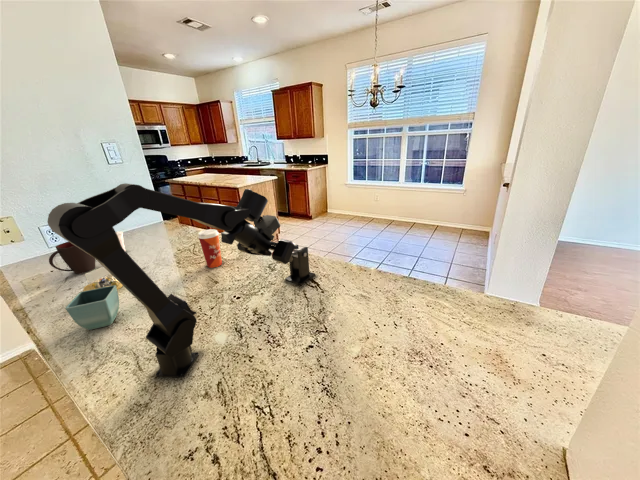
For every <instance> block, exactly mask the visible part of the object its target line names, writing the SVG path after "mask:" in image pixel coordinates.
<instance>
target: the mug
mask: <svg viewBox="0 0 640 480" xmlns="http://www.w3.org/2000/svg"><path fill="white" fill-rule="evenodd" d="M55 249H56V251H54V252H52V253H51V254H50V255H49V258H48V263H49V265H50V267H52V268H54V269H56V270H57V271H62V272H73V273H75V274H77V275H83V274H86V273H89V272H92V271H94V270H96V259H95V258H93V257H92V256H90V255H89V254H87V253H86V252H84V251H82V250H81V249H79V248H78V247H76V246H75V245H73V244H71V243H70V242H68V241H65V242H62V243H60V244H57V245H55ZM57 255H59V256H60V257H61V259H62V260H63V261H64V263H65V264H66V266H67V267H69V269H66V268H60V267H57V266H56V265H55V264H54V258H55V257H56V256H57Z"/></svg>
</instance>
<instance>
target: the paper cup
mask: <svg viewBox="0 0 640 480" xmlns="http://www.w3.org/2000/svg"><path fill="white" fill-rule="evenodd" d="M219 235H220V233H219V231H218V229H216V228H211V229H204V230H201V231H199V232H198V233H197V239H198V240H199V243H200V246H201V250H202V254H203V256H204V260H205V264H206V266H207V268H211V269H212V268H218V267H220V266H221V265H223V260H222V252H221V246H220V245H221V244H220V239H219V237H220V236H219Z"/></svg>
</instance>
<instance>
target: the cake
mask: <svg viewBox="0 0 640 480" xmlns="http://www.w3.org/2000/svg"><path fill="white" fill-rule="evenodd" d="M149 266H150V265H149V264H148V267H149ZM84 275H85V278H86V281H87V285H85V286H83V289H82V292H83V291H88V290H93V289H98V288H103V287H108V286H113V285H116V287H117V291H118V290H120V289H121V288H122V287H124V286H123V285H122V284H121V283H120V282H119V281H118V280H117V279H116V278H115V277H114V276H112V275H111V274H110V273H109V272H108V271H107V270H106V269H105V268H104V267H103V266H101V267H99V268H95V269H93V270H91V271H89V272H86V273H84Z"/></svg>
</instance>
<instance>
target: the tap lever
mask: <svg viewBox="0 0 640 480" xmlns="http://www.w3.org/2000/svg"><path fill="white" fill-rule="evenodd" d="M300 249H301V248H299V249H294V250H293V253H292V255H291V256H294V257H298V255H297V251H299V250H300ZM273 252H274V251H271V253H272V254H273ZM272 254H271V255H272Z"/></svg>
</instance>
